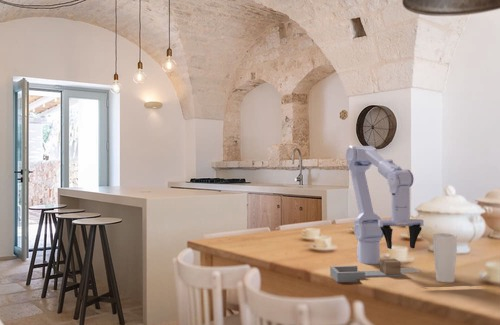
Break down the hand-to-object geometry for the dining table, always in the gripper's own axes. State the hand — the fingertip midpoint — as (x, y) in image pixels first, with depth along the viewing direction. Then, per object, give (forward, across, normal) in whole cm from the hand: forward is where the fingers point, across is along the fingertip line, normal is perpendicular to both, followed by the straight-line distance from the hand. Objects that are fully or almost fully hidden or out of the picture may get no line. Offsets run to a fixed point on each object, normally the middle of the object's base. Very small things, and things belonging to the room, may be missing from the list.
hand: (400, 248), depth 156 cm
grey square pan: (+9, -12, 0) cm, 15 cm away
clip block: (+8, -4, 0) cm, 9 cm away
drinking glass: (+10, +11, -9) cm, 17 cm away
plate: (+9, +4, +5) cm, 11 cm away
